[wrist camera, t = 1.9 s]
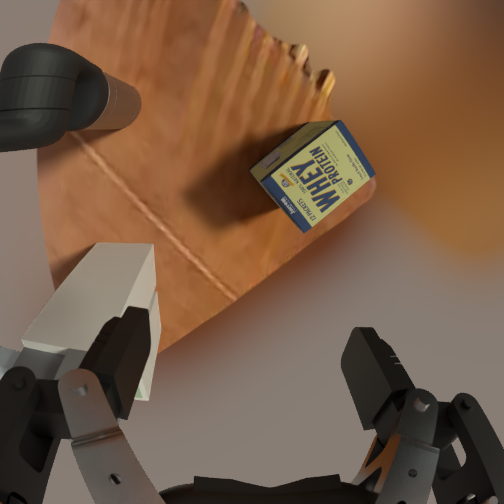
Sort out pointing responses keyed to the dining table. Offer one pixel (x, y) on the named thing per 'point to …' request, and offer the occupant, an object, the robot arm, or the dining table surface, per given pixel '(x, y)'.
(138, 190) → the dining table surface
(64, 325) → the grey stepped fixture
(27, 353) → the plug
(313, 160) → the protein box
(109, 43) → the dining table surface
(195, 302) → the dining table surface
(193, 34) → the dining table surface
